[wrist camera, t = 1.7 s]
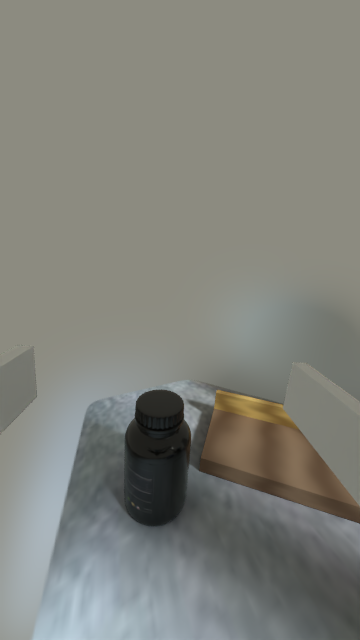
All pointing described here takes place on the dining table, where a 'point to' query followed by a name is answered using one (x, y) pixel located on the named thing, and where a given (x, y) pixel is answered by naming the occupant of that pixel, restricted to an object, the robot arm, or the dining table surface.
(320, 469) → the brown flat block
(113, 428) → the dining table surface
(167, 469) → the supplement bottle
